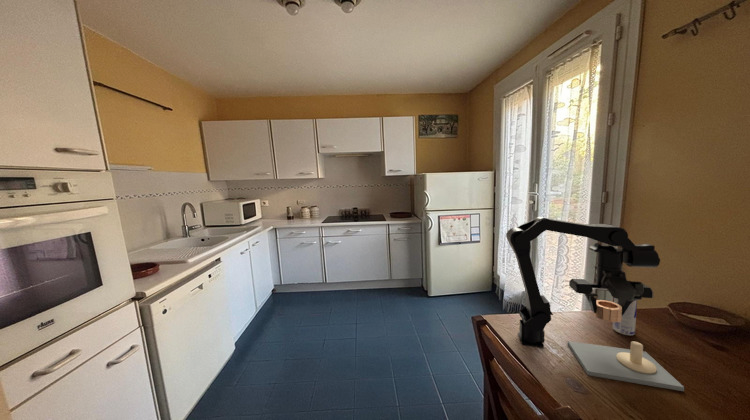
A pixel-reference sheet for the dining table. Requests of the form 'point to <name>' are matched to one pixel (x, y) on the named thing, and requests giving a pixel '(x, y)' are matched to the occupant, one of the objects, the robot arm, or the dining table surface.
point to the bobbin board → (623, 364)
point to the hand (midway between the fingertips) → (607, 313)
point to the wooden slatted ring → (608, 311)
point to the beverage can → (627, 320)
